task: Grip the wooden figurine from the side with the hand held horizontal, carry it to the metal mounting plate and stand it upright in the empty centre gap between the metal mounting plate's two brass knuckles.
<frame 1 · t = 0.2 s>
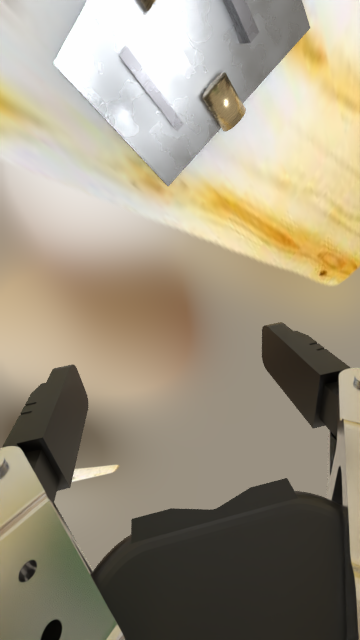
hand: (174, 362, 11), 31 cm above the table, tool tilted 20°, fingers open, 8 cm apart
metal mounting plate: (184, 45, 26), on the table
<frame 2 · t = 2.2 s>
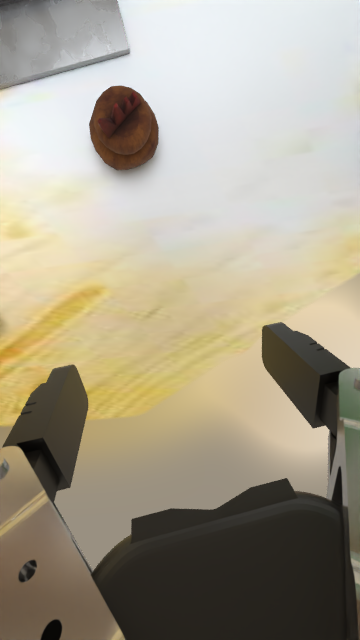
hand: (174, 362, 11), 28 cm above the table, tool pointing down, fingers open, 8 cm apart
wooden figurine: (126, 143, 30), on the table
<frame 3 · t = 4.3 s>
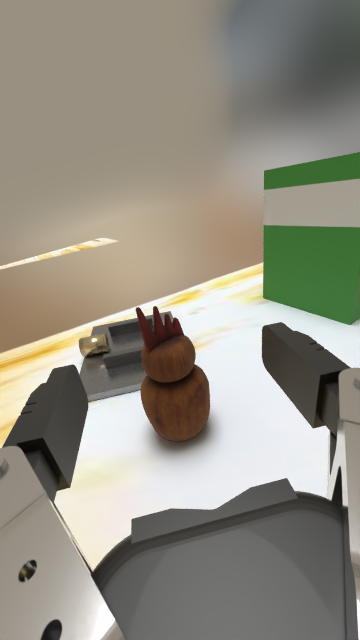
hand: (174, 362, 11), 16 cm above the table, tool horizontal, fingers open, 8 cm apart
metal mounting plate: (134, 349, 43), on the table
wooden figurine: (182, 427, 28), on the table
hardback book: (312, 304, 49), on the table
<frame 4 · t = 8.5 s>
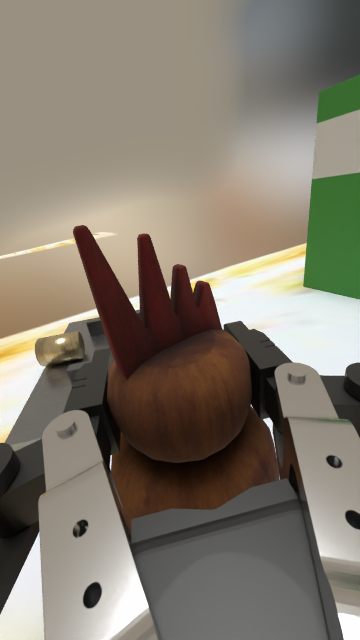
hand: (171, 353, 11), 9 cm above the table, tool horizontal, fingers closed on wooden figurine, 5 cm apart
metal mounting plate: (122, 356, 29), on the table
wooden figurine: (205, 527, 13), on the table, touching gripper
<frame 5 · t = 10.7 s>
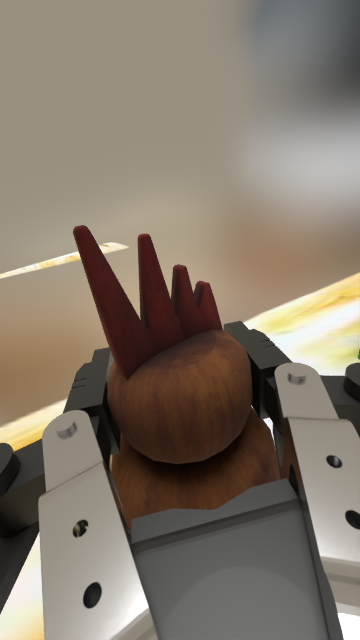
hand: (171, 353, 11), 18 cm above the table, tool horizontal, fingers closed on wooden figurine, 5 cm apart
wooden figurine: (205, 528, 13), point 8 cm above the table, touching gripper
when the fingers open (11 cm above the table, at t = 13.4 s): wooden figurine drops 1 cm, resting on metal mounting plate.
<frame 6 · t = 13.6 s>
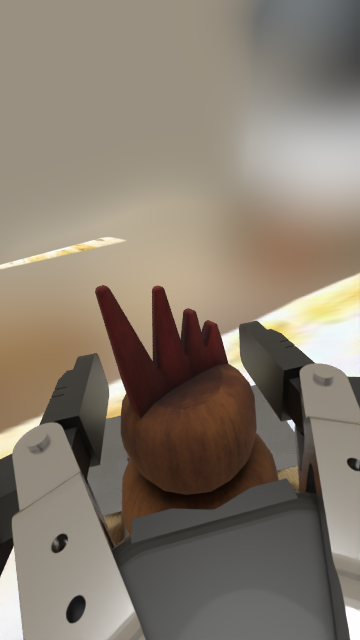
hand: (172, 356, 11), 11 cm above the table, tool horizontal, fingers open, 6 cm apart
metal mounting plate: (208, 549, 14), on the table
wooden figurine: (209, 545, 14), point 1 cm above the table, touching metal mounting plate
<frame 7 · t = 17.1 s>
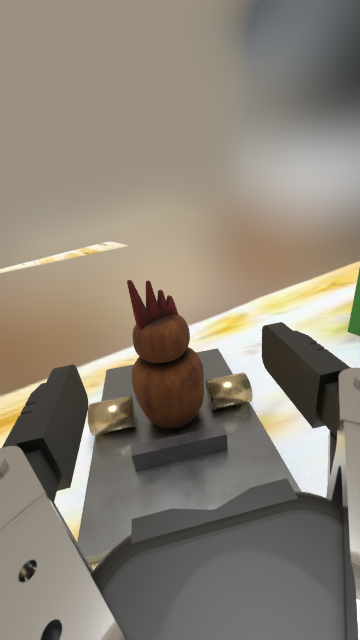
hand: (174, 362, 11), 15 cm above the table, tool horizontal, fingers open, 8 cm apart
metal mounting plate: (174, 420, 27), on the table
wooden figurine: (175, 415, 26), point 1 cm above the table, touching metal mounting plate
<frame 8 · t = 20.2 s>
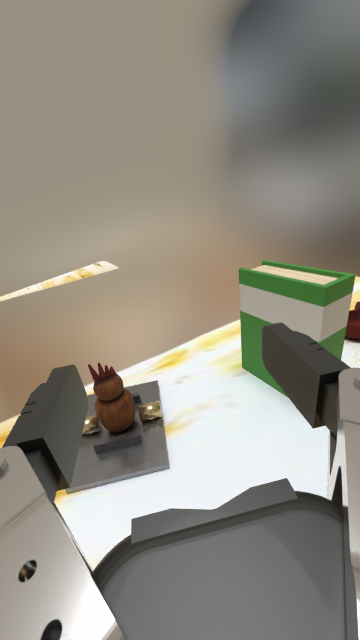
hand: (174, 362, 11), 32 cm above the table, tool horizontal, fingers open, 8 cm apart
metal mounting plate: (122, 427, 49), on the table
wooden figurine: (121, 424, 48), point 1 cm above the table, touching metal mounting plate
hardback book: (283, 379, 55), on the table
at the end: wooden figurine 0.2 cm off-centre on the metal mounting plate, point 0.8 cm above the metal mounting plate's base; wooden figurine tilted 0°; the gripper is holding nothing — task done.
